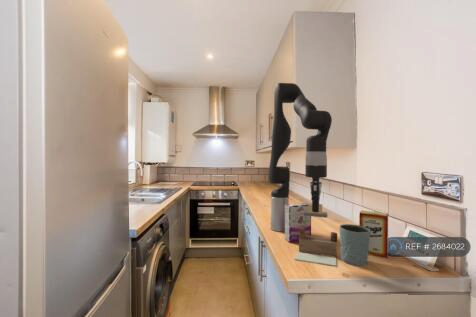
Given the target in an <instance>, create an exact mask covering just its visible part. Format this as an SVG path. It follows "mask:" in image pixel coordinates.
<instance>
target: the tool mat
mask: <svg viewBox="0 0 476 317" xmlns="http://www.w3.org/2000/svg"><path fill="white" fill-rule="evenodd" d="M294 261H300V262H306V263H312V264H318V265H326V266H333V267H337V257H334V256H327V255H320V254H313V253H306V252H299V251H296V254H295V257H294Z"/></svg>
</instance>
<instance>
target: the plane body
mask: <svg viewBox="0 0 476 317" xmlns="http://www.w3.org/2000/svg"><path fill="white" fill-rule="evenodd" d="M337 242H338V233H337V232H335V231H330V237H324V236H318V235H317V236H315V235H311V236H308V235H305V226H302V225H301V227H300V237H299V242H298V252H300V253H307V254H314V255H321V256H328V257H335V258H337V257H338V243H337Z"/></svg>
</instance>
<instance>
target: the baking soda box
mask: <svg viewBox="0 0 476 317" xmlns="http://www.w3.org/2000/svg"><path fill="white" fill-rule="evenodd" d="M358 217H359V226H363V227H366V228H368V229H370V231H371V233H370V239H369V249H368V255H372V256H376V257H382V258H388V256H389V213H388V212H381V211H373V210H372V211H370V210H361V211H360V212H359V216H358Z"/></svg>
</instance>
